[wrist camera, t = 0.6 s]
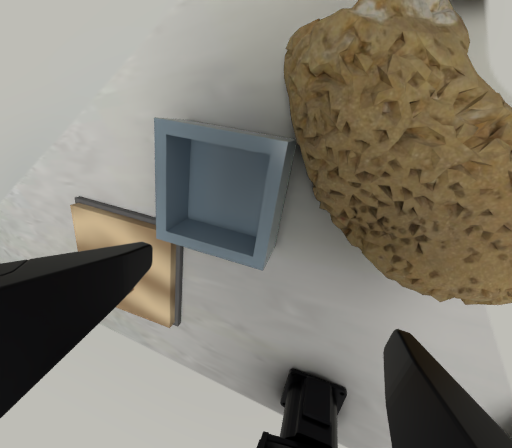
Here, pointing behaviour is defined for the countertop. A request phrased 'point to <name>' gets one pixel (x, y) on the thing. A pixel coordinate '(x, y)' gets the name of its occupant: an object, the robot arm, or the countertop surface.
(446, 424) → the robot arm
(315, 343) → the countertop surface
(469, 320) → the countertop surface
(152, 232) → the oak lid
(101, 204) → the rubber mat
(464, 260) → the sponge
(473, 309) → the countertop surface
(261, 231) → the ceramic dish
